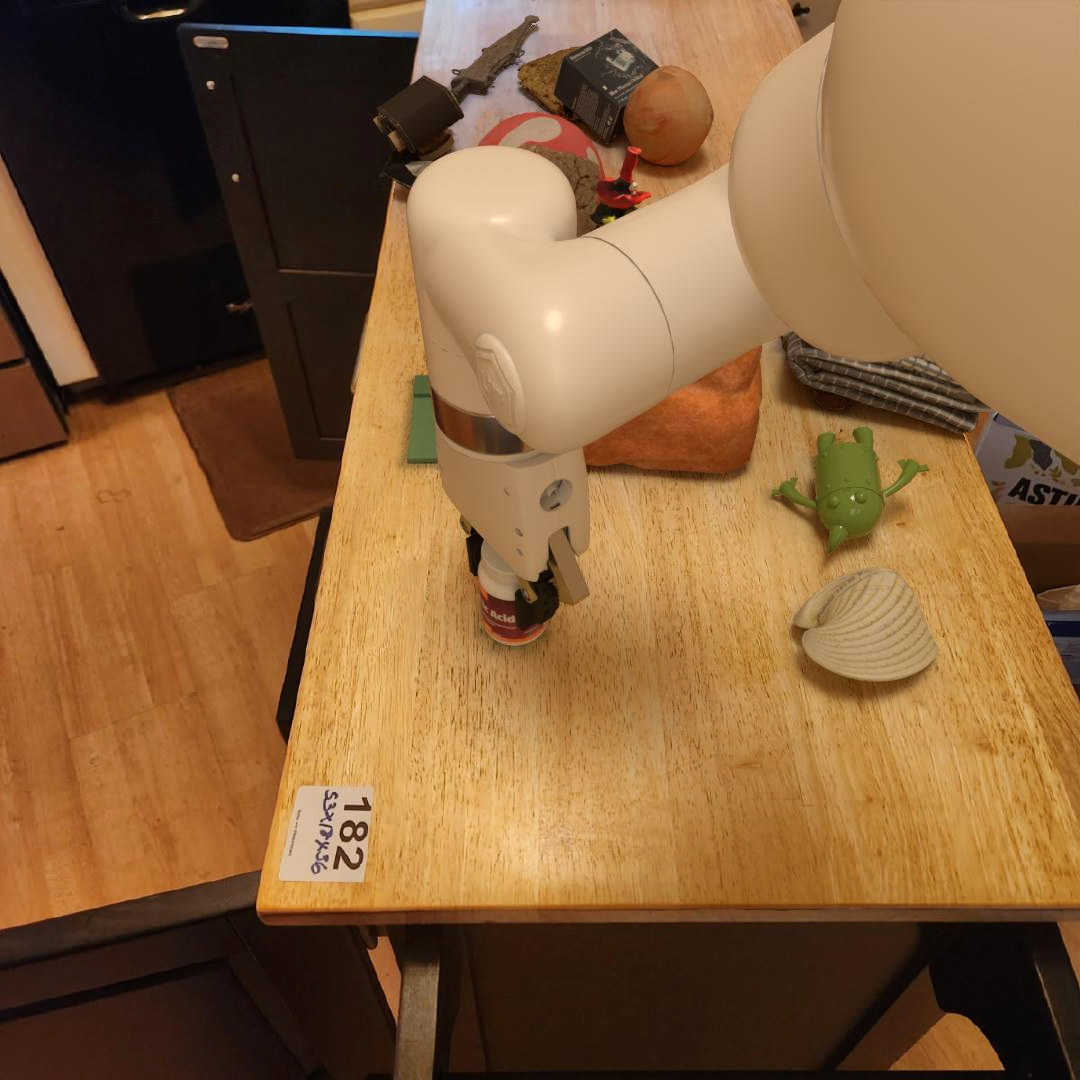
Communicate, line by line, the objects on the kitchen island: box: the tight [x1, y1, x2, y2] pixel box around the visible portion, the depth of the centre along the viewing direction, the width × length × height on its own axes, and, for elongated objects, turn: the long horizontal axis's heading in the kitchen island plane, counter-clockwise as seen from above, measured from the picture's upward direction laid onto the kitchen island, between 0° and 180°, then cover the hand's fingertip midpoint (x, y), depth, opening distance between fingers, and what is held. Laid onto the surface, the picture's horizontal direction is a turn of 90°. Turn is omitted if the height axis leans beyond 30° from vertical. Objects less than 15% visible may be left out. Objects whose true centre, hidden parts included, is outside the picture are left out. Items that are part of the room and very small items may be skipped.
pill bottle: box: [477, 540, 549, 647], centre depth 62 cm, size 5×5×8 cm
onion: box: [623, 65, 715, 167], centre depth 100 cm, size 10×10×10 cm
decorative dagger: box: [450, 14, 540, 106], centre depth 117 cm, size 7×2×30 cm
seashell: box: [793, 566, 941, 682], centre depth 62 cm, size 8×8×8 cm
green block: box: [406, 374, 438, 464], centre depth 78 cm, size 10×4×1 cm, turn 1°
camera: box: [372, 74, 465, 161], centre depth 101 cm, size 16×7×8 cm
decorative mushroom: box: [476, 111, 606, 206], centre depth 86 cm, size 13×13×15 cm
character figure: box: [770, 426, 930, 557], centre depth 69 cm, size 12×5×12 cm
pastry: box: [516, 45, 584, 121], centre depth 114 cm, size 17×17×3 cm
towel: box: [785, 331, 996, 435], centre depth 78 cm, size 15×18×8 cm
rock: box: [516, 143, 600, 238], centre depth 76 cm, size 13×11×5 cm
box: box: [554, 28, 661, 145], centre depth 106 cm, size 9×6×10 cm
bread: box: [582, 344, 764, 474], centre depth 72 cm, size 14×26×16 cm, turn 83°
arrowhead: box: [378, 148, 448, 180], centre depth 104 cm, size 6×1×10 cm
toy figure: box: [576, 146, 652, 233], centre depth 66 cm, size 10×4×7 cm, turn 90°
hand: (513, 589), depth 62 cm, fingers closed on pill bottle, 4 cm apart
